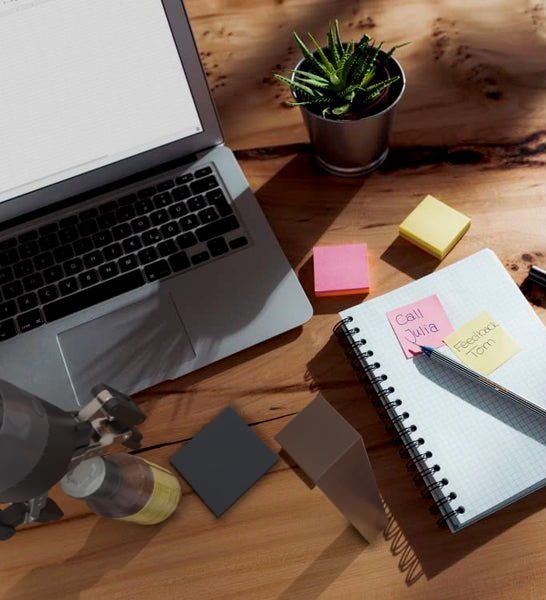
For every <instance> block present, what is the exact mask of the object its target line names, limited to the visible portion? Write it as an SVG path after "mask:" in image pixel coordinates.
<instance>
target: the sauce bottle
mask: <svg viewBox="0 0 546 600" xmlns="http://www.w3.org/2000/svg"><path fill="white" fill-rule="evenodd" d="M58 483H59V486H60V488H61V491H62V492H63V493H64V494H65V495H67V496H69V497H70V498H73V499H76V500H80V501H85V503H86V506H87V507H88V508H89V510H90V511H91V512H93V513H94V514H96V515H97V516H99V517H102V518H106V519H110V520H115V521H121V522H128V523H133V524H139V525H147V526H148V525H149V526H150V525H156V524H158V523H161V522H164V521H165V520H168V519H170V518H171V517H172V516H173V515H174V513H175V512H176V511H177V509H179V505H180V503H181V501H182V498H183V493H182V487H181V484H180V481H179V479H178V477H177V476H176V475H175V474H174V473H173V472H171V470H169V469H167V468H165V467H163V466H161V465H158V464H156V463H154V462H151V461H149V460H147V459H144V458H143V457H140V456H137V455H134V454H131V453H127V452H121V451H114V452H112V453H109V454H105V455H104V456H103V455H100V456H97V457H94V458H91V459H88V460H85V461H82V462H81V464H80V465H79V466H76V467H75V468H73V469H72V470H70V471H69V472H68V473H67V474H66V475H65V476H64V477H63V478H62V479H61V480H60V481H59V482H58Z"/></svg>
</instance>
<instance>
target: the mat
mask: <svg viewBox="0 0 546 600" xmlns="http://www.w3.org/2000/svg"><path fill="white" fill-rule="evenodd" d="M168 460H169V462H170V463H171V464H172V465H173V466H174V468H175V469H176V470H177V471H178V472H179V474H180V475H181V476H182V477H183V478H184V480H185V481H186V482H187V483H188V484H189V485H190V486H191V488H192V489H193V490H194V491H195V492H196V493H197V495H198V496H199V497H200V498H201V499H202V501H203V502H204V503H205V504H206V505H207V506H208V507H209V509H210V510H211V511H212V512H213V513H214V514H215V516H216V517H217V518H220V517H222V516H223V515H224V514H225V513H226V512H227V511H228V510H229V509H230V508H231V507H232V506H234V505H235V503H236V502H238V500H239V499H240V498H242V497H243V496H244V495H245V494H246V493H247V492H248V491H249V490H250V489H251V488H252V487H254V485H255V484H256V483H257V482H258V481H259V480H261V479H262V478H263V477H264V476H265V475H266V474H267V473H268V472H269V471H270V470H271V469H272V468H273V467H274V466H275V465H277V463H278V462H279V461H280V459H279V457H278V456H277V454H275V453H274V452H273V451H272V450H271V449H270V447H268V445H267V444H266V443H265V442H264V441H263V440H262V439H261V438H260V437H259V436H258V434H256V432H255V431H254V430H253V429H252V428H251V427H250V426H249V425H248V423H247V422H246V421H245V420H244V419H243V418H242V417H241V416H240V415H239V414H238V413H237V412H236V411H235V410H234V409H233V407H232V406H231V405H228V406H227V407H226V408H225V409H223V410H222V412H220V413H219V414H218V415H217V416H216V417H215V418H214V419H213V420H212V421H210V422H209V423H208V424H207V425H206V426H205V427H204V428H203V429H201V430H200V432H198V433H197V434H196V435H195V436H194V437H192V438H191V439H190V440H189V441H188V442H187V443H186V444H185V445H183V446H182V447H181V448H180V449H179V450H178V451H177V452H176V453H174V455H173V456H171V458H169V459H168Z"/></svg>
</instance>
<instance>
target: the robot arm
mask: <svg viewBox="0 0 546 600" xmlns="http://www.w3.org/2000/svg"><path fill="white" fill-rule="evenodd" d="M89 393H90V396H92V398H93V399H92V400H91V401H90V402H89V403H88V404H87V405H85V406H84V407H83V408H82V409H81V410H69V411H67V410H65V409H62V408H61V407H59V406H57V405H55V404H54V403H51V402H49V401H47V400H46V399H44V398H41V397H39V396H37V395H36V394H33V393H31V392H29V391H28V390H26V389H23V388H22V387H19V386H18V385H15V384H14V383H12V382H9V381H7V380H5V379H2V378H0V505H4V504H5V505H6V504H9V505H8V506H6V507H5V508H3V509H2V508H1V507H0V541H1V542H5V541H7V540H10V539H11V538H13V537H14V536H15V535H16V533H17V529H16V528H17V527H19V526H20V525H22V524H24V525H25V526H29V525H31V524H33V523H38V524H39V523H40V524H47V523H50V522H51V521H52V522H59V521H60V520H61V519H63V517H65V513H64V512H63V510H62V509H61V507H60V506H59V504H58V503H57V502H56V501H55V500H54V499H53V498H52V497H50V496H49V492H50V491H51V490H52V488H53V487H55V486H56V485H57V484H58V483H59V481H60V480H61V479H62V478H63V477H64V476H65V475H66V474H67V473H68V472H69V471H70V470H72V469H73V468H75V467H76V466H79V465H80V464H81V462H82V461H85V460H88V459H91V458H94V457H97V456H100V455H102V456H103V455H106V454H107V453H108V452H109V450H110V448H111V447H113V446H115V445H119V444H120V445H122V446H124V447H126V448H127V449H130V450H133V451H134V452H138V450H140V449H141V448H142V447H143V443H141V441H143V440H144V435H143V434H142V433H141V431H140V430H139V429H138V428H137V426H140V425H141V424H143V423H144V422H145V421H146V419H147V417H148V416H147V415H146V414H145V412H144V411H143V410H142V409H141V408H140V407H139V405H138V404H136V402H135V400H133V398H132V397H130V396H129V395H127V394H125V393H123V392H121V391H120V390H118V389H115V388H114V387H111V386H109V385H107V384H105V383H102V382H100V383H97V384H95V385H94V386H93V387H92V388H91V389H90V391H89ZM105 428H107V429H108V431H110V432H108V431H107V430H106V429H105ZM90 443H91V444H90Z"/></svg>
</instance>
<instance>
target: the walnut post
mask: <svg viewBox="0 0 546 600" xmlns="http://www.w3.org/2000/svg"><path fill="white" fill-rule="evenodd" d="M273 439H274V440H275V441H276V442H277V444H278V445H279V446H280V447H281V448H282V449H283V450H284V451H285V452H286V454H288V456H289V457H290V458H291V459H292V460H293V462H294V463H295V464H297V466H298V467H299V468H300V469H301V470H302V471H303V472H304V473H305V475H307V477H308V478H309V479H310V480H311V481H312V483H314V484H315V485H316V487H317V488H318V489H319V490H320V491H321V492H322V493H323V495H324V496H325V497H326V498H327V499H328V500H329V501H330V502H331V503H332V504H333V505H334V506H335V508H337V510H338V511H339V512H340V513H341V514H342V515H343V516H344V517H345V518H346V520H347V521H348V522H349V523H350V524H351V525H352V526H353V527H354V528H355V530H356V531H357V532H358V533H360V535H361V536H362V537H363V538H364V539H365V540H366V541H367V542H368V543H369V544H372V543H373V541H374V540H375V539H376V538H377V537H378V536H379V535H380V534H381V533H382V532H383V531H384V530H385V529H386V528H387V527H388V526H389V525H390V522H389V518H388V516H387V512H386V509H385V506H384V502H383V500H382V497H381V494H380V490H379V487H378V484H377V482H376V478H375V475H374V471H373V469H372V468H373V467H372V465H371V462H370V459H369V456H368V453H367V450H366V446H365V444H364V441H363V437H362V435H361V434H360V433H359V432H358V431H357V430H356V429H355V428H354V427H353V426H352V425H351V424H350V423H349V422H348V421H347V420H346V419H345V417H343V416H342V415H341V414H340V413H339V412H338V411H337V410H336V409H335V408H334V407H333V406H332V405H331V404H330V403H329V402H328V401H327V400H326V399H325V398H324V397H323V395H321V394H320V393H319V394H317V395H316V397H314V398H313V399H312V400H311V401H310V402H309V403H307V405H306V406H305V407H304V408H302V409H301V411H299V412H298V413H297V414H296V415H295V416H294V417H293V418H292V419H291V420H290V421H289V422H288V423H287V424H285V426H284V427H282V428H281V429H280V430H279V431H278V432H277V433H276V434H275V435H274V436H273Z"/></svg>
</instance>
